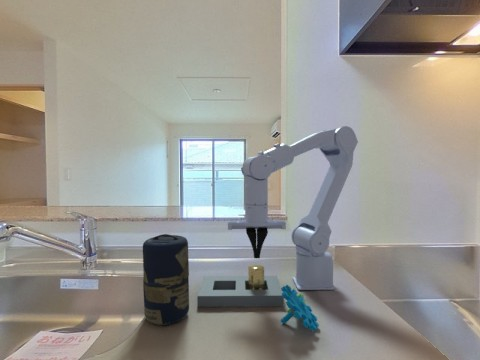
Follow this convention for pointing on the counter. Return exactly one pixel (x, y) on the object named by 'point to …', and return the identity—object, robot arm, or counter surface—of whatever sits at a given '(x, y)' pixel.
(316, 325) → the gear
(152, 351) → the counter surface
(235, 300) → the jig
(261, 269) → the bushing
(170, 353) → the counter surface
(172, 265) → the canister
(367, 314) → the counter surface
